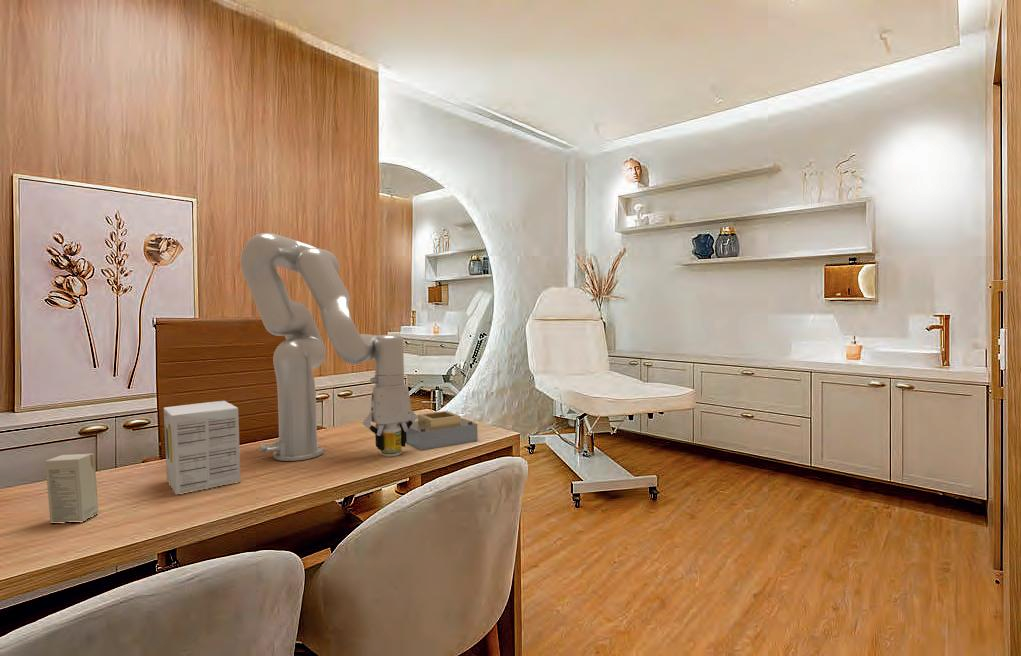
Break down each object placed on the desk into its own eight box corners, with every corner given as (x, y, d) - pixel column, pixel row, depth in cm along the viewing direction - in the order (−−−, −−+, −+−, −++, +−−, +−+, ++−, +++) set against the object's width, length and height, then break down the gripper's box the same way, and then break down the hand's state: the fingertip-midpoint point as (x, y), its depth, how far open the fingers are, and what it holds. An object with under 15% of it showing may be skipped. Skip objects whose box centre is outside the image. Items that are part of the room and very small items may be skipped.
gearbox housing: (420, 450, 148) (420, 423, 148) (401, 440, 160) (401, 415, 160) (477, 440, 158) (477, 415, 158) (456, 431, 170) (455, 408, 169)
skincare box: (99, 514, 105) (96, 452, 104) (82, 523, 100) (79, 459, 100) (66, 515, 104) (62, 453, 104) (47, 524, 100) (44, 459, 100)
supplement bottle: (385, 451, 148) (384, 416, 147) (404, 451, 147) (403, 416, 147) (378, 456, 142) (377, 421, 142) (398, 457, 142) (397, 421, 141)
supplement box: (165, 481, 124) (162, 406, 124) (228, 469, 133) (225, 399, 132) (174, 496, 114) (171, 415, 113) (241, 483, 123) (239, 407, 122)
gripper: (362, 385, 136) (364, 455, 137) (425, 379, 145) (426, 445, 146) (353, 382, 142) (355, 449, 143) (414, 376, 152) (415, 440, 152)
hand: (391, 446), depth 145 cm, fingers closed on supplement bottle, 5 cm apart
